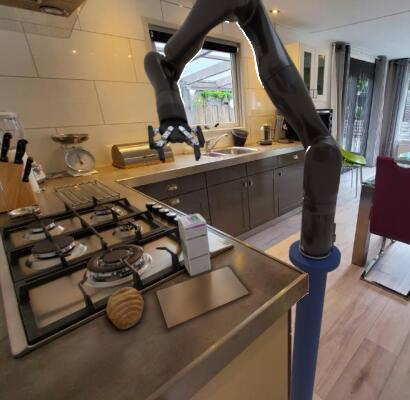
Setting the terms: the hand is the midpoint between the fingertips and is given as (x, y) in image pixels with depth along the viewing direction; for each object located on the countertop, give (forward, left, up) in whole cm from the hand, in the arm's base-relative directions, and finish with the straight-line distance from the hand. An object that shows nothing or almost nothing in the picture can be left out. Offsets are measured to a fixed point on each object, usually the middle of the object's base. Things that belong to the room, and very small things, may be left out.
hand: (181, 160), depth 66 cm
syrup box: (+2, +11, -27) cm, 29 cm away
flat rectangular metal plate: (+4, +21, -27) cm, 34 cm away
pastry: (+19, +18, -27) cm, 37 cm away
